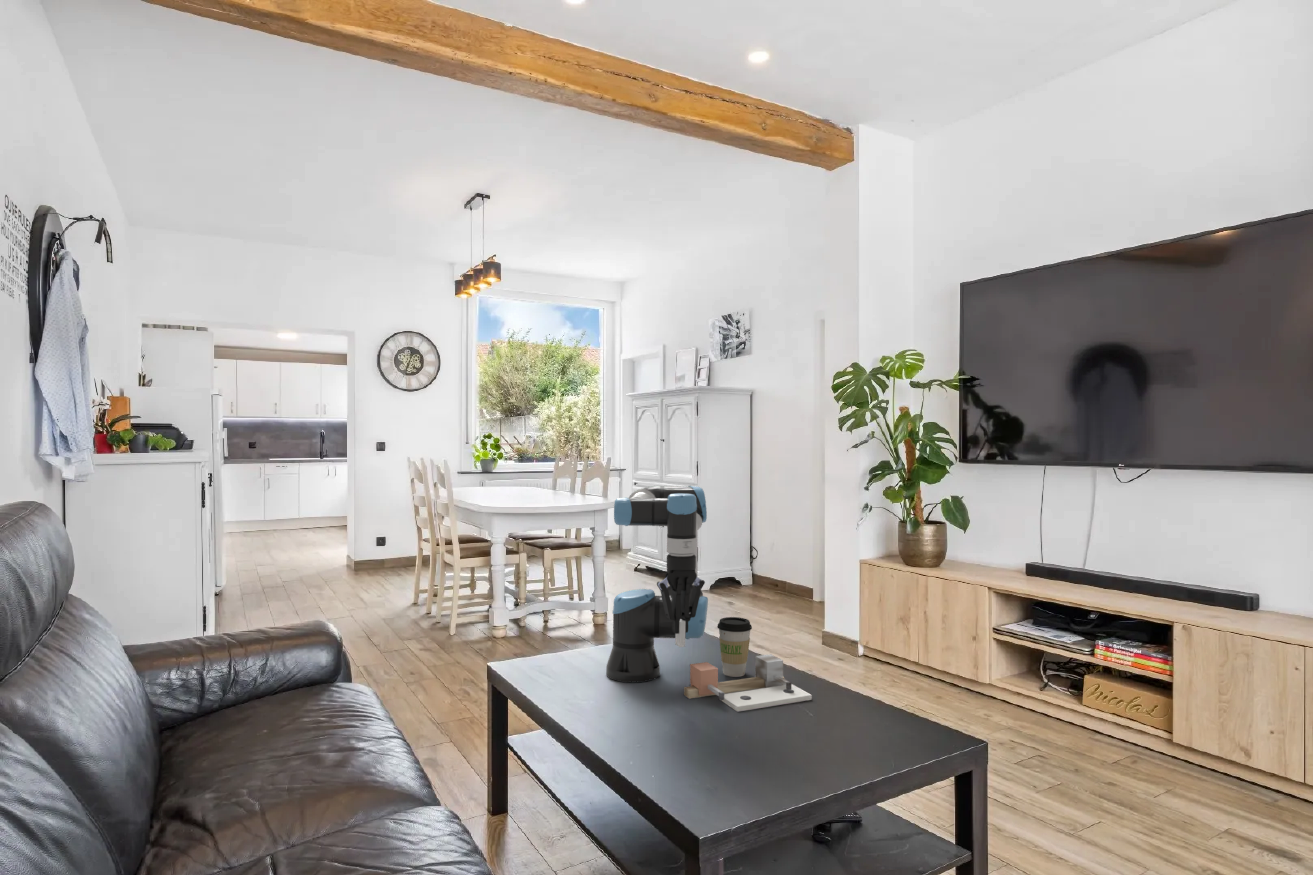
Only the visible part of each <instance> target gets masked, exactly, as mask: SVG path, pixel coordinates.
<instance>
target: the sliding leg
mask: <svg viewBox="0 0 1313 875" xmlns="http://www.w3.org/2000/svg"><path fill="white" fill-rule="evenodd" d="M689 666H690V670H689V671H690V672H689V675H690V676H689V684H690V686H695V687H696V688H698V689H699V695H700V696H702V695H709V694H716V695H715V696H718V700H720V701H721V700H724V694H725V693H724V692H722V691H720V690H719V689H717V688H718V682H719V668H718V667H717V666H715V665H712V664H711V663H709V662H708V661H705V662H698V663H690V665H689Z"/></svg>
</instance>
